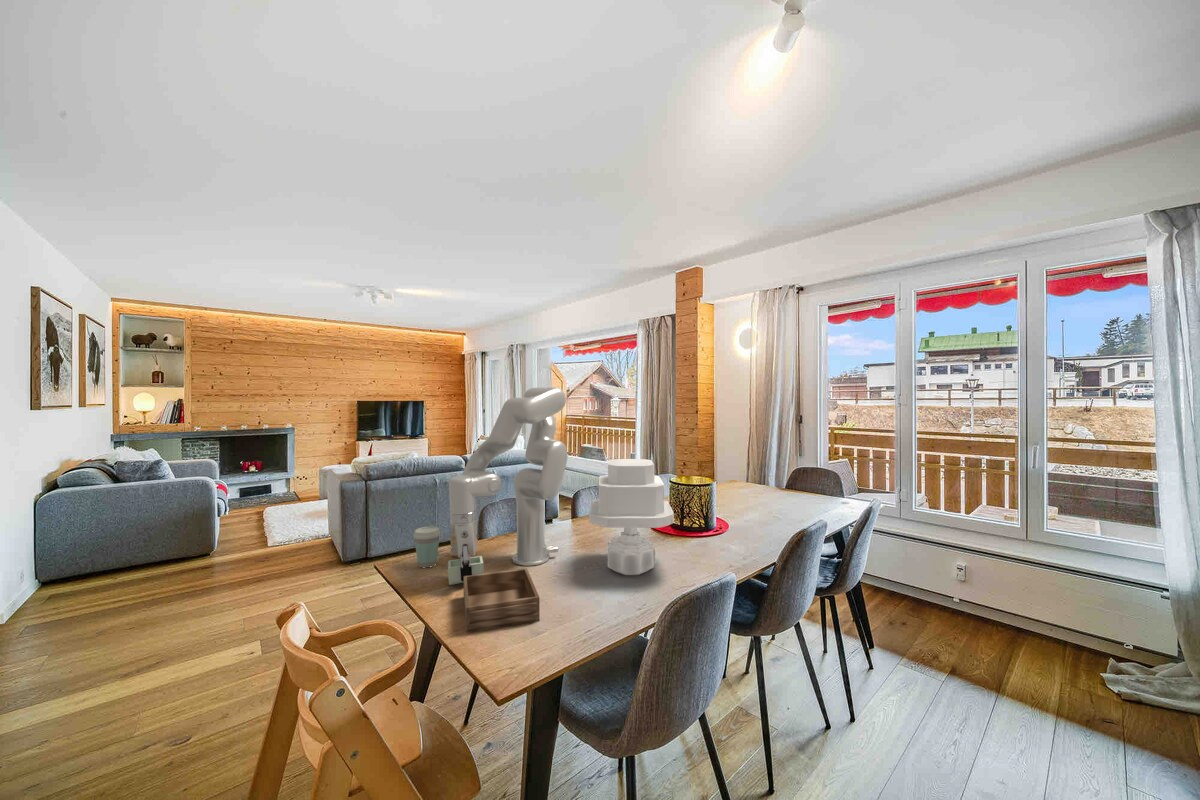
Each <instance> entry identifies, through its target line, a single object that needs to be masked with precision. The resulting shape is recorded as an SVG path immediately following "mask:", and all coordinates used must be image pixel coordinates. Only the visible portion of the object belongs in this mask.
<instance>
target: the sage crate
mask: <svg viewBox="0 0 1200 800" xmlns="http://www.w3.org/2000/svg"><path fill="white" fill-rule="evenodd" d="M468 560H469V559H468ZM463 561H464V559H463ZM470 561H471V566H472V575H478V574H485V573H484V560H483V556H482V555H478V556H474V557H470ZM447 562H448V563H447V569H448V570H447V573H448V585H449V586H450V585H457V584H464V581H461V572H460V567H461V558H458V559H457V558H456V559H451V560H448V561H447Z"/></svg>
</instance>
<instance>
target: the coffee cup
mask: <svg viewBox="0 0 1200 800" xmlns="http://www.w3.org/2000/svg"><path fill="white" fill-rule="evenodd" d="M440 536H441V530H440V529H439V527H438V526H423V527H419V528H416V529H415V530H414V533H413V539H414V542H415V543H414V545H415V546H414V547H415V551H416V552H415V553H416V560H417V561H416V562H417V567H418V566H419V567H418V568H420V567H430V566H433V567H435V566H436V565H437V564H436V563H438V555H439V544H440ZM435 564H436V565H435ZM434 565H435V566H434ZM430 568H431V567H430Z"/></svg>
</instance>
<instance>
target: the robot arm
mask: <svg viewBox="0 0 1200 800" xmlns="http://www.w3.org/2000/svg"><path fill="white" fill-rule="evenodd" d="M566 403H567V397H566V393H565V392H564V391H563V390H562V389H561V388H559V387H553V386H552V387H550V386H549V387H544V386H543V387H540V386H539V387H532V388H531V387H530V388H529V389H527V390H526V391H525V392H524V394H523V397H512V398H509V399H507V400H506V401H505V402H504V404H503V405H502V407H501V410H500V411H499V414H498V417H497V418H496V421H495V423H494V425H493V427H492V430H491V432H490V434H489V436H488V437H487V438H486V440H484V441H483V442H482V443H481V444H480V445H479V446H478V447H477V448H476V450H474V452H472V454H470V455H471V456H470V457H469V459H468V461H467V462H466V465H465V467H464V470H463V472H462V475H456V476H453V477H451V478H450V479H449V481H448V492H449V493H448V494H449V495H448V497H449V515H450V516H449V518H450V520H451V524H452V525H455V534H456V545H457V552H458V557H457V558H458V559H461V567H460V572H461V581H464V576H470V575H472V566H471V561H470V555H471V556H473V557H476V554H475V543H474V527H473V523H474V522H476V523H477V506H476V505H477V502H476V501H477V500H476V499H478V498H479V499H480V498H488V497H493V496H494V495H496V494H498V493H499V491H500V490H501V488H502V480H501V479H502V478H501V477H500V476H499V475H498V474H496V473H494V472H491V471H486V470H487V468H488V466H489V464H490V463H491V462H492V461H493V460H494V459H495V458H497V457H499V456H500V455H502V454H504V453H506V452H509V451H510V450H512V449H513V448H514V446H515V444H516V442H517V440H518V436H519V434H520V432H521V430H522V428H523V426H524V424H528V425H529V424H530V425H531V429H530V434H529V437H528V440H527V441H528V442H527V444H526V448H525V454H524V455H525V460H526V461H527V462H528V463H529V464H532V465H535V466H540V467H542V469H537V468H533V467H526V468H525V467H524V468H523V469H520V470H519V471H518V472H517V473H516V474H515V476H514V479H513V489H514V490H513V491H514V495H515V500H516V502H515V503H516V552H515V553H514V554H513V555H512V562H513V563H514V564H516V565H520V566H525V567H528V566H529V567H530V566H537V565H542V564H545V563H546V562H548V561H549V559H550V554H552V553H553V554H555V553H559V547H558V546H554V545H546V541H545V540H546V538H545V534H546V533H545V531H546V530H545V528H546V527H545V514H546V513H545V505H544V501H551V500H554V499H555V498H557V496H558V494H559V492H560V490H561V488H562V487H561V486H562V483H563V480H564V475H565V470H566V468H567V467H566V466H567V461H568V449H567V446H566V445H565V444H564V442H562V441H560V440H558V439H555V436H556V435H555V433H556V429H557V428H556V427H557V423H556V419H555V416H554V415H556V414H558V413H559V412H561V411H562V410H563V408H564V407H565V405H566ZM543 500H544V501H543ZM450 520H449V521H450ZM463 559H464V561H463ZM468 559H469V560H468Z"/></svg>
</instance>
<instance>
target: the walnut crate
mask: <svg viewBox="0 0 1200 800" xmlns="http://www.w3.org/2000/svg"><path fill="white" fill-rule="evenodd" d="M463 605H464V621H465V633H471V632H478V631H484V630H491V629H497V628H503V627H509V626H515V625H521V624H528V623H532V622H533V623H535V622H539V621H540V611H541V610H540V595H539V594H538V591H537V588H536V586H535V584H534V581H533V579H532V576H531V575H530V571H529V569H528V568H520V569H513V570H504V571H495V572H487V573H484V574H478V575H470V576H464V583H463Z"/></svg>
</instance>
